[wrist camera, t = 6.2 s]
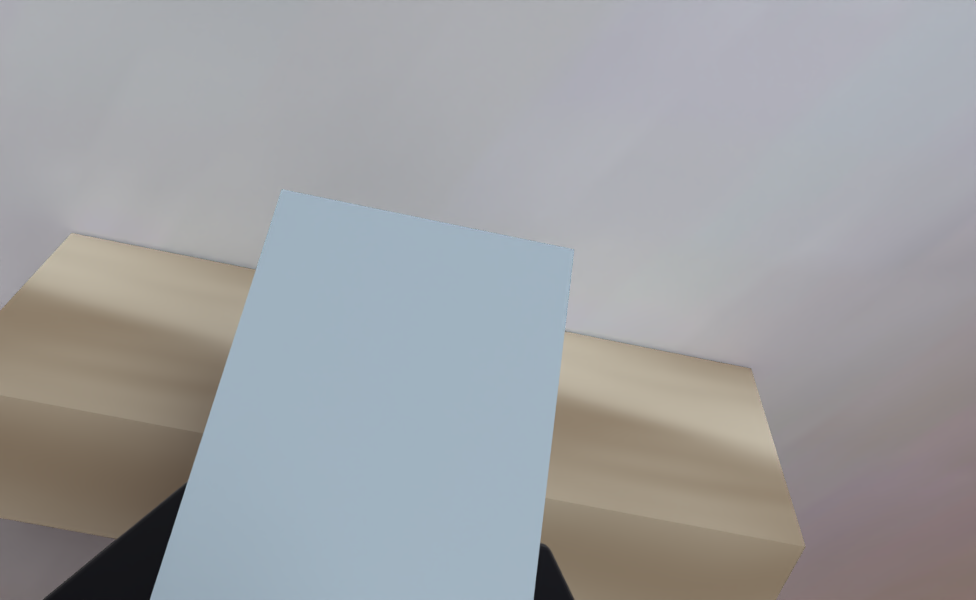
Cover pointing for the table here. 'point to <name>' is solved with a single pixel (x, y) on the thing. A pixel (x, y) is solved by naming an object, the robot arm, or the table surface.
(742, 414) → the maple rail
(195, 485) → the pale blue plank
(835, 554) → the table surface
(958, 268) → the table surface
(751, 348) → the table surface
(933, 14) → the table surface
